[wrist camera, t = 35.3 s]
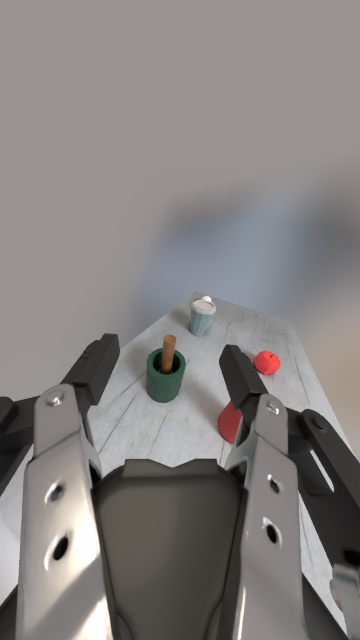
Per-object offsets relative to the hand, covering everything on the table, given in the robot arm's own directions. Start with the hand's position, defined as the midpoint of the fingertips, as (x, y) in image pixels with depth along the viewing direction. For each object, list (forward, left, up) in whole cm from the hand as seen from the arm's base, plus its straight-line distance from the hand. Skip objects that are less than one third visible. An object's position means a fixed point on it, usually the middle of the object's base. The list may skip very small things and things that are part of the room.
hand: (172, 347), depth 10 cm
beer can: (+17, +8, -32) cm, 37 cm away
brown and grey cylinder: (-2, +15, -31) cm, 35 cm away
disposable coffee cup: (+7, +45, -32) cm, 56 cm away
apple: (+33, +30, -32) cm, 55 cm away
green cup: (-2, +15, -32) cm, 35 cm away
